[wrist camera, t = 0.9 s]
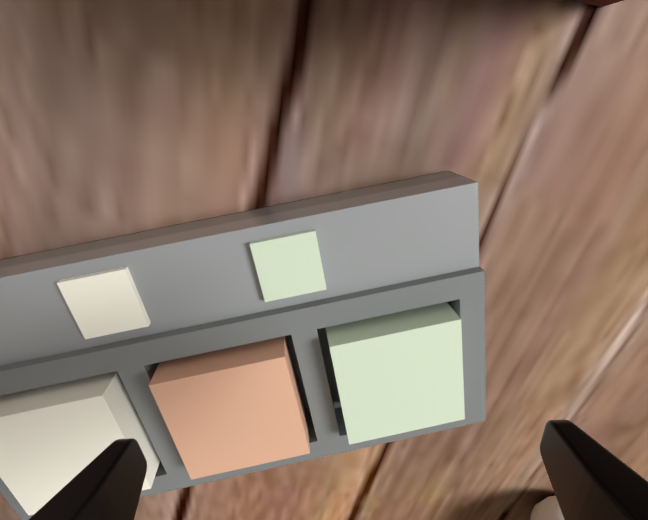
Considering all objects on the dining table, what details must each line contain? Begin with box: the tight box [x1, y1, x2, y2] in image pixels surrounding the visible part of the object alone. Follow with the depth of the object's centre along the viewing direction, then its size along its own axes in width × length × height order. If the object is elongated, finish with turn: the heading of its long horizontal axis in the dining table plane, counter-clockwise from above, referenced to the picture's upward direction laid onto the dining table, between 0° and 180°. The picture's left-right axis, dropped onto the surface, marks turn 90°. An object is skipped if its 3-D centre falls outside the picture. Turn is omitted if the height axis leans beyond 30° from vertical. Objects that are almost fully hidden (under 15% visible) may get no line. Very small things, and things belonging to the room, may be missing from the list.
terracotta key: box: [149, 336, 310, 480], centre depth 19 cm, size 6×6×2 cm
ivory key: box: [0, 371, 160, 516], centre depth 18 cm, size 6×6×2 cm
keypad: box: [0, 171, 486, 520], centre depth 20 cm, size 13×25×4 cm, turn 100°
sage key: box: [325, 302, 465, 445], centre depth 19 cm, size 6×6×2 cm
